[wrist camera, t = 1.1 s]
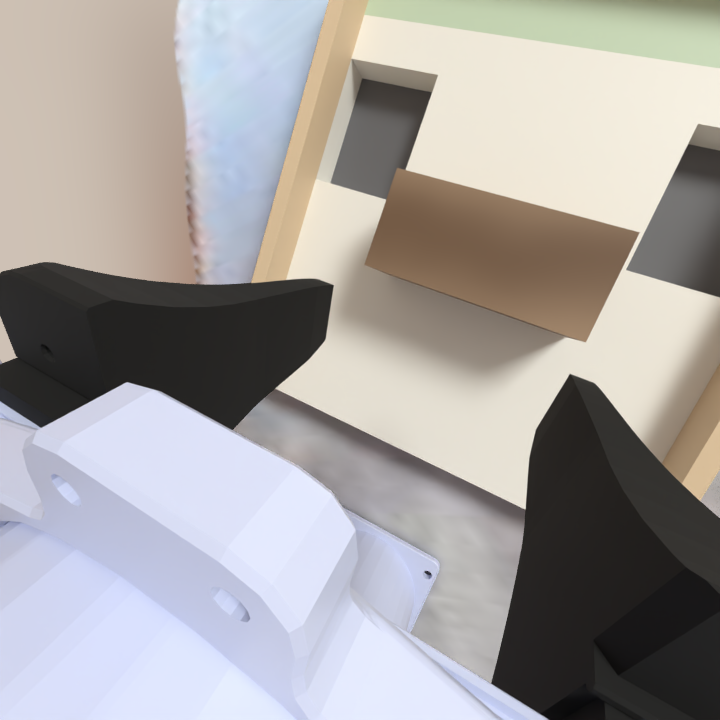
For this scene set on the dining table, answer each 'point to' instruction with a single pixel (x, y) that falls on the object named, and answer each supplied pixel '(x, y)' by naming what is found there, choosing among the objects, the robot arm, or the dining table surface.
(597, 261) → the walnut block
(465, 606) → the dining table surface
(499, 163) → the shallow cream tray
